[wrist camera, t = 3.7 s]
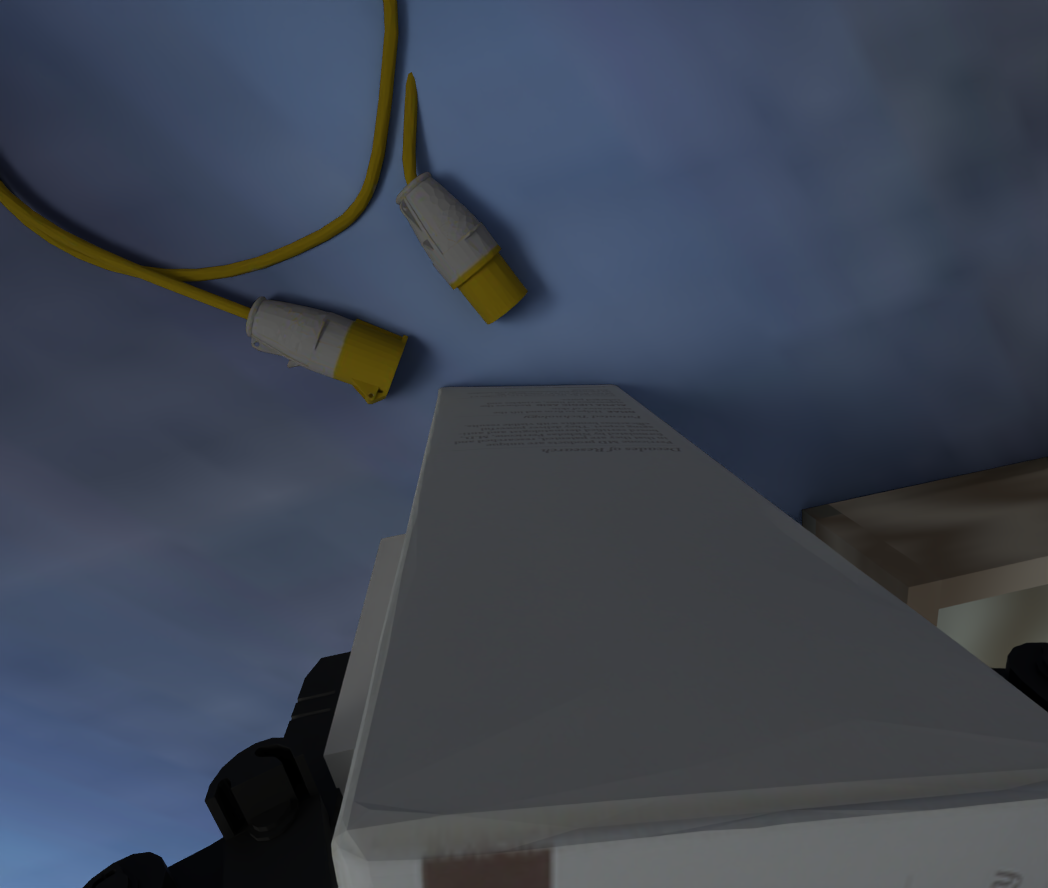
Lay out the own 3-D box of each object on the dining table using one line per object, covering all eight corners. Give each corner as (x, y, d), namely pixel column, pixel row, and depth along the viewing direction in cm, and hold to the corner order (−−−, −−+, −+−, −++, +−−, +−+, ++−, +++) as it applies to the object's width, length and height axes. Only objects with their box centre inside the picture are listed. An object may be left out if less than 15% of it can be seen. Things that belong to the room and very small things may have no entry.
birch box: (800, 812, 25) (878, 938, 21) (802, 509, 20) (909, 587, 15) (1115, 734, 26) (1259, 839, 22) (1199, 424, 21) (1415, 472, 16)
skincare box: (601, 592, 20) (936, 1347, 6) (436, 603, 19) (396, 1486, 5) (615, 367, 17) (1269, 815, 3) (424, 370, 17) (281, 950, 3)
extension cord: (180, 468, 17) (147, 494, 15) (-208, -153, 12) (-332, -229, 10) (538, 336, 17) (548, 346, 15) (312, -345, 12) (285, -457, 10)
